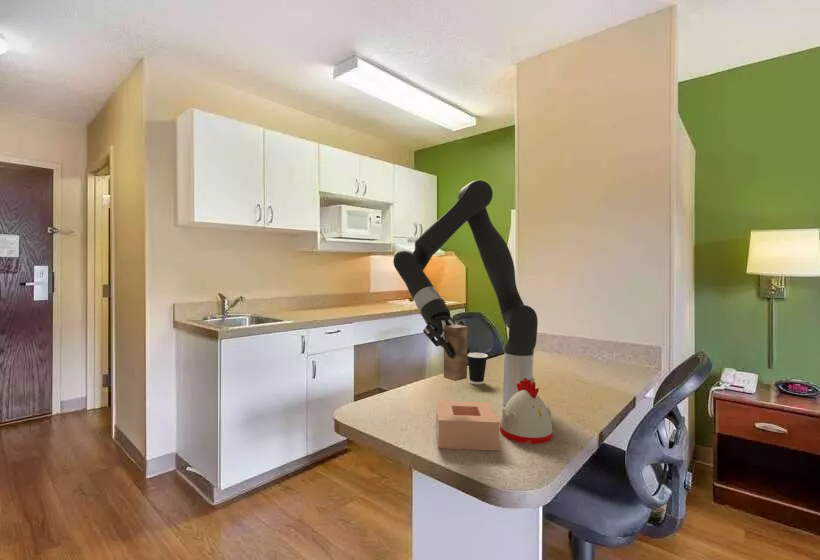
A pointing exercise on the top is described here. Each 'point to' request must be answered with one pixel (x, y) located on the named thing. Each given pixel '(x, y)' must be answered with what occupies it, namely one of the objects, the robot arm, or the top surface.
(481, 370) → the dixie cup
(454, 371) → the walnut bar
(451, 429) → the terracotta well block
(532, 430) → the kitchen timer
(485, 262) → the robot arm
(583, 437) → the top surface
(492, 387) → the top surface
